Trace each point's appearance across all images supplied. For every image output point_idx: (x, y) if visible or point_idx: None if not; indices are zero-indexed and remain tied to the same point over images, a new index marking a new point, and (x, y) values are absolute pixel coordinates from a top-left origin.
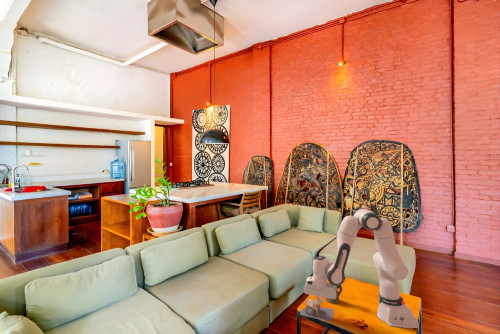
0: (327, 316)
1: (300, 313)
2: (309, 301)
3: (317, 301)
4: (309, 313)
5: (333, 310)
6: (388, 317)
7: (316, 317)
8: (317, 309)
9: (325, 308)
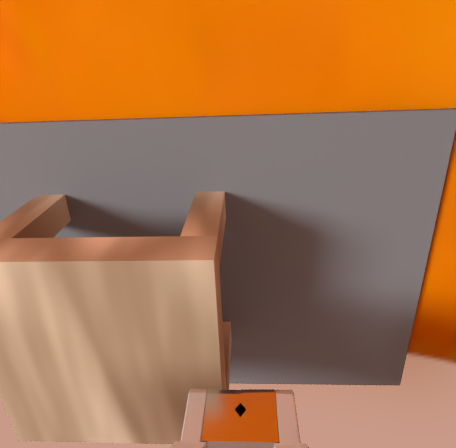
0: (347, 313)
1: None
2: (24, 339)
3: (167, 290)
4: None
5: (446, 138)
6: None
7: None
8: None
9: (308, 132)
